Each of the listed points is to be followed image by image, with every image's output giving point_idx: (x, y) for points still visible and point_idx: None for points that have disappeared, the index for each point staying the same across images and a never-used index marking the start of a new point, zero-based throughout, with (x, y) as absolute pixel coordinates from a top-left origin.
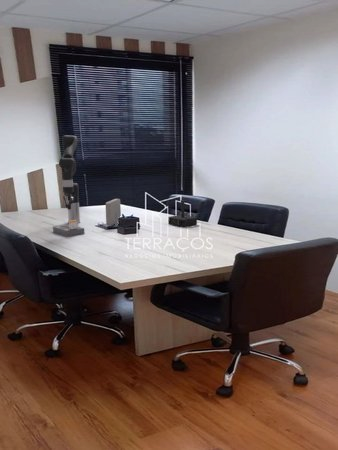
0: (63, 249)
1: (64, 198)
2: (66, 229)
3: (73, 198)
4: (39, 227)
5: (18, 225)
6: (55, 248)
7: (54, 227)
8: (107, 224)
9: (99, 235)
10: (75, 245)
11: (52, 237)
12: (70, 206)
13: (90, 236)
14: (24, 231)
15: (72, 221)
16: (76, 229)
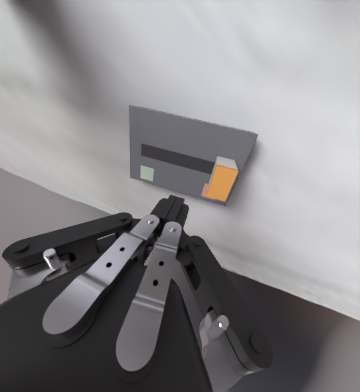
0: (311, 287)
1: (76, 267)
2: (204, 189)
3: (262, 348)
4: (60, 148)
5: (16, 160)
6: (284, 284)
7: (140, 180)
8: None
9: (357, 118)
10: (324, 260)
11: (195, 219)
12: (185, 219)
13: (314, 158)
14: (90, 200)
15: (227, 194)
16: (239, 171)
